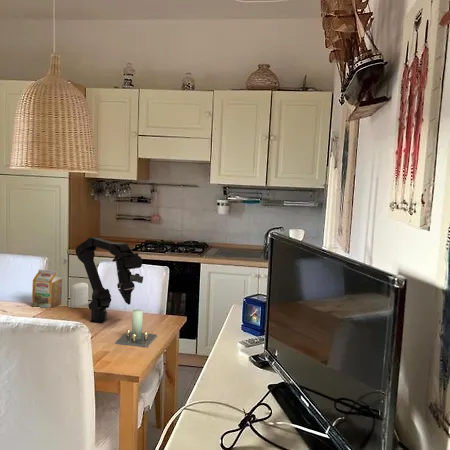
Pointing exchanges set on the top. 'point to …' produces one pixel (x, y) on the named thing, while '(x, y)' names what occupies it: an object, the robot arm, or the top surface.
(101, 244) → the robot arm
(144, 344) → the chassis plate
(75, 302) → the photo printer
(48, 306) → the milk carton
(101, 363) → the top surface
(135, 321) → the mint green tapered post
